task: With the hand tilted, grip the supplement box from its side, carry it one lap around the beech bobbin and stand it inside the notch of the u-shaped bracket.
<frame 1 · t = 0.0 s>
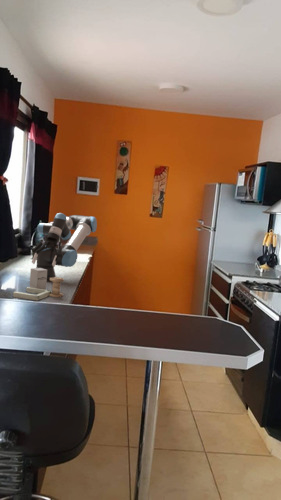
hand: (43, 264, 250), 15 cm above the countertop, tool tilted 35°, fingers open, 13 cm apart
supplement box: (37, 289, 250), on the countertop
u-shaped bracket: (31, 295, 233), on the countertop
bobbin: (55, 295, 238), on the countertop
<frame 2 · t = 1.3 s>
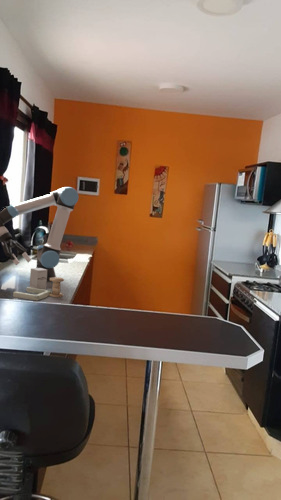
hand: (23, 262, 250), 15 cm above the countertop, tool tilted 45°, fingers open, 13 cm apart
nothing on the countertop moved.
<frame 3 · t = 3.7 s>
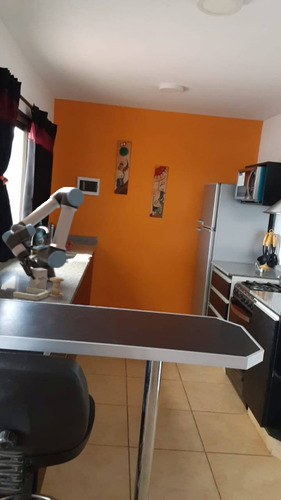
hand: (42, 282, 248), 5 cm above the countertop, tool tilted 45°, fingers closed on supplement box, 9 cm apart
supplement box: (37, 289, 250), on the countertop, touching gripper
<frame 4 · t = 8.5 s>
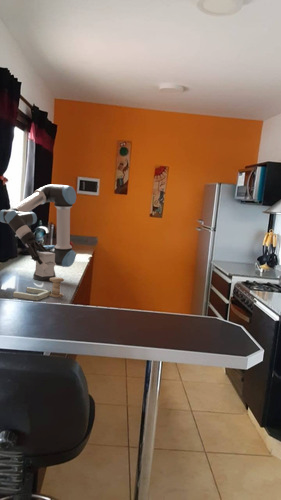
hand: (50, 267, 224), 19 cm above the countertop, tool tilted 45°, fingers closed on supplement box, 9 cm apart
supplement box: (44, 275, 225), point 13 cm above the countertop, touching gripper
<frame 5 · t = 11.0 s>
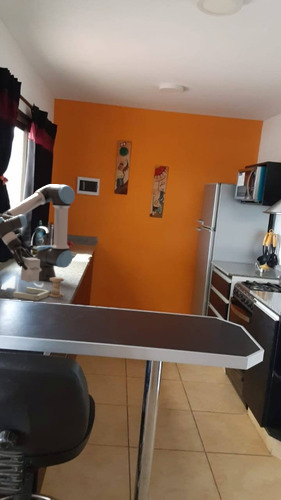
hand: (35, 272, 230), 14 cm above the countertop, tool tilted 45°, fingers closed on supplement box, 9 cm apart
supplement box: (29, 280, 232), point 8 cm above the countertop, touching gripper
when the fingers open (6 cm above the countertop, at t = 13.3 s): supplement box stays where it is, on the countertop.
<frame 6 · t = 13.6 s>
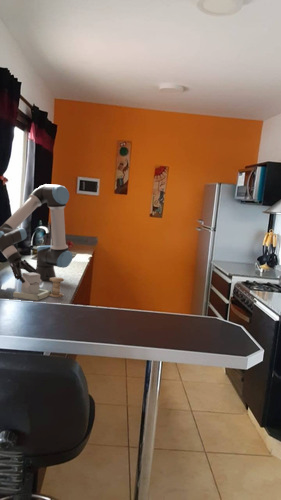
hand: (34, 284, 232), 6 cm above the countertop, tool tilted 45°, fingers open, 13 cm apart
supplement box: (30, 295, 234), on the countertop
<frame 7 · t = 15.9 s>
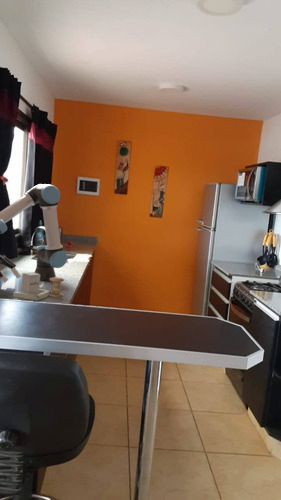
hand: (13, 279, 235), 8 cm above the countertop, tool tilted 45°, fingers open, 13 cm apart
nothing on the countertop moved.
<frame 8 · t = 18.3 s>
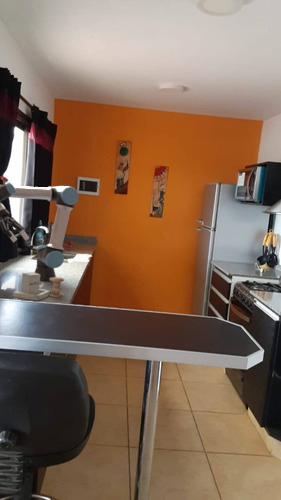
hand: (21, 240, 242), 30 cm above the countertop, tool tilted 45°, fingers open, 13 cm apart
nothing on the countertop moved.
at the end: supplement box inside the target area on the u-shaped bracket (0.4 cm from its centre), point 0.0 cm above the u-shaped bracket's base; supplement box tilted 0°; the gripper is holding nothing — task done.
